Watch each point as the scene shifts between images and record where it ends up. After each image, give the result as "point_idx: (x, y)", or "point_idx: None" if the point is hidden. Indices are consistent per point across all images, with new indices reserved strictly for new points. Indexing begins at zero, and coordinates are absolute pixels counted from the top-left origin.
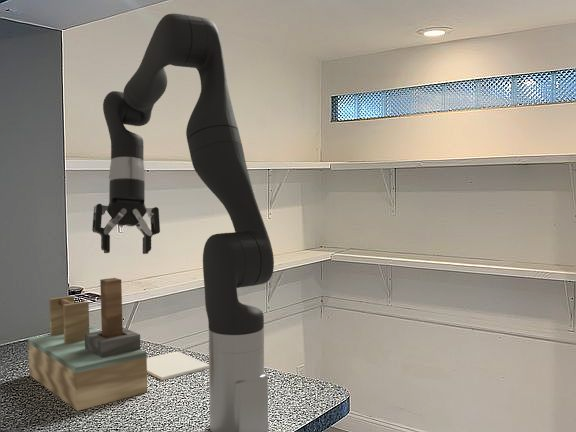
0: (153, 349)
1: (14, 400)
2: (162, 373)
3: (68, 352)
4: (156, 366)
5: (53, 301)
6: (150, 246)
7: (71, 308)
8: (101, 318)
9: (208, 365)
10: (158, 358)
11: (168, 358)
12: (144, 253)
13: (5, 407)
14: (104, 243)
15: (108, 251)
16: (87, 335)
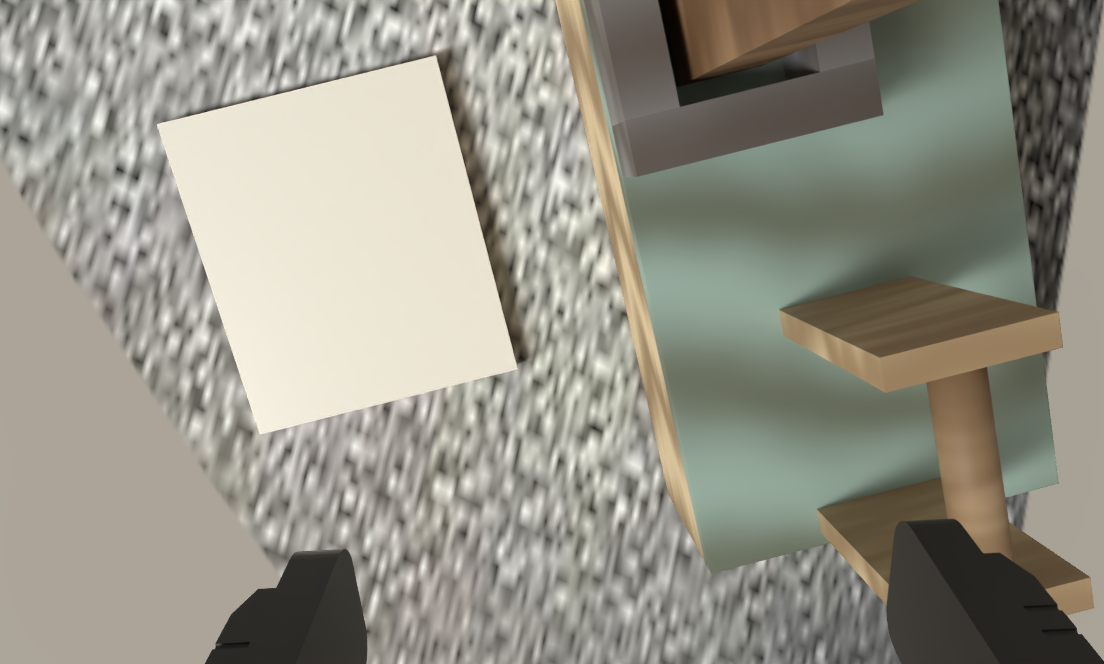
0: (357, 567)
1: (1047, 136)
2: (418, 114)
3: (937, 86)
4: (419, 238)
5: (1059, 573)
6: (231, 637)
7: (991, 320)
8: (833, 35)
9: (167, 124)
10: (379, 360)
11: (332, 335)
12: (356, 585)
13: (1090, 69)
14: (1042, 624)
15: (921, 520)
16: (875, 69)
